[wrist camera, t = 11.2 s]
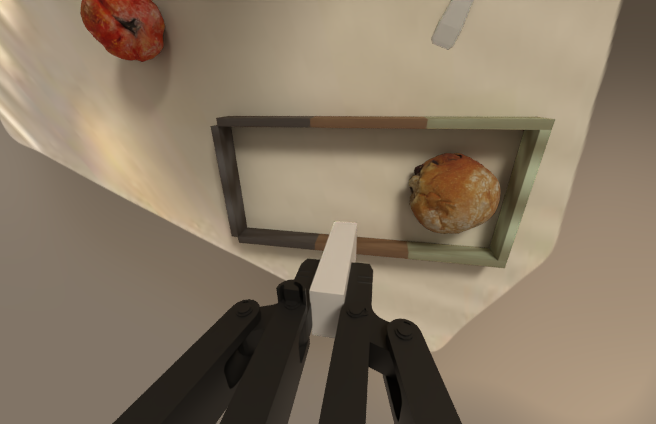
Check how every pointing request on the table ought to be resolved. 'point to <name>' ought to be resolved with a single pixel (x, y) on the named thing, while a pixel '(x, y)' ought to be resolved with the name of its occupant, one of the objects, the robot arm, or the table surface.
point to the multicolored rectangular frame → (494, 256)
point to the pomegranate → (125, 27)
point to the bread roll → (453, 193)
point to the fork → (451, 23)
